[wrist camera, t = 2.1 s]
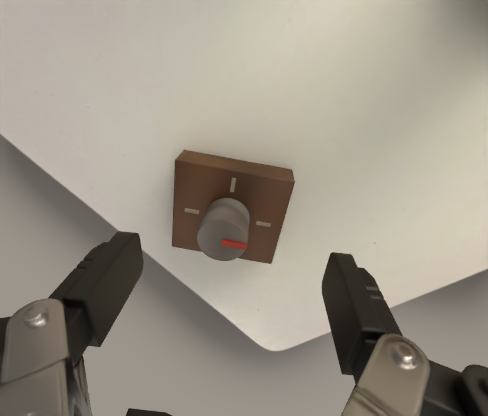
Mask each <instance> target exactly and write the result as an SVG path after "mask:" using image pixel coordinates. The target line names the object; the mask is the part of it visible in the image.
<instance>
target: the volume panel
mask: <svg viewBox="0 0 488 416" xmlns="http://www.w3.org/2000/svg"><path fill="white" fill-rule="evenodd" d="M294 183H295V181H294V177H293V172H292V170H290V169H285V168H279V167H274V166H268V165H263V164H257V163H252V162H247V161H241V160H236V159H230V158H225V157H219V156H214V155H209V154H203V153H198V152H192V151H187V150H184V151H183V152H182V153H181V154H180V155H179V156H178V157H177V159H176V160H175V179H174V206H173V232H172V246H173V247H179V248H184V249H190V250H195V251H201V252H203V251H202V250H201V249H200V247H199V245H198V242H197V234H198V231H199V229H200V226H201V223H202V221H203V218H204V216H205V213H206V211H207V208H208V207H209V205H210V204H211V203H212V202H214V201H216V200H218V199H221V198H231V199H235V200H237V201H239V202H241V203H242V204H243V205H244V206H245V207H246V208H247V210H248V212H249V215H250V222H249V232H248V242H247V247H246V250H245V251H244V253H243V254H242V255H241V256H239V257H238V258H241V259H246V260H252V261H258V262H263V263H269V264H271V263H272V259H273V256H274V253H275V249H276V246H277V242H278V239H279V235H280V232H281V228H282V225H283V221H284V218H285V214H286V211H287V207H288V204H289V200H290V197H291V193H292V190H293V186H294Z"/></svg>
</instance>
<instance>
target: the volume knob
mask: <svg viewBox="0 0 488 416" xmlns="http://www.w3.org/2000/svg"><path fill="white" fill-rule="evenodd" d="M249 222H250V215H249V212H248V210H247V208H246V207H245V206H244V205H243V204H242V203H241V202H239V201H237V200H235V199H231V198H221V199H218V200H216V201H214V202H212V203H211V204H210V205H209V207H208V208H207V211H206V213H205V216H204V218H203V221H202V223H201V226H200V229H199V231H198V234H197V242H198V245H199V247H200V249H201V250H202V251H203V253H205V254H206V255H207V256H209V257H210V258H213V259H216V260H220V261H229V260H233V259H236V258H238V257H239V256H241V255H242V254H243V253H244V251H245V250H246V247H247V242H248V232H249Z"/></svg>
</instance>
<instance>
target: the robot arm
mask: <svg viewBox="0 0 488 416" xmlns="http://www.w3.org/2000/svg"><path fill="white" fill-rule="evenodd" d="M142 270H143V256H142V249H141V243H140V237H139V234H138V233H132V232H121V231H119V232H117V233H116V234H115V235H114V237H113V238H112V239H111V240H110V241H109V242H104V243H102V244H100V245H98V246H97V247H95V248H93V249H92V250H91V251H90V252H89V253H88V254H87V255H86V256H85V258H84V260H83V261H81V262H80V263H79V264H78V265H77V268H76V269H74V270H73V271H72V272H71V273H70V274H69V275H68V276H67V278H66V279H65V280H64V281H63V282H62V283H61V284H60V285H59V286H58V288H57V289H56V290H55V291H54V292H53V293H52V294H51V295H50V296H49V298H47V299H41V300H37V301H34V302H31V303H29V304H27V305H26V306H24V307H22V308H21V309H19V310H18V311H17V312H16V313H14V315H13V316H11V317H5V318H0V416H92V412H91V407H90V400H89V393H88V386H87V380H86V373H85V366H84V359H83V356H82V354H83V353H84V351H85V349H86V348H87V346H95V347H100V346H101V345H102V343H103V341H104V339H105V338H106V336H107V334H108V332H109V331H110V329H111V327H112V325H113V323H114V322H115V320H116V318H117V316H118V315H119V313H120V311H121V309H122V308H123V306H124V304H125V302H126V301H127V299H128V297H129V295H130V294H131V292H132V290H133V288H134V287H135V285H136V283H137V281H138V279H139V278H140V276H141V274H142ZM322 295H323V299H324V303H325V307H326V311H327V315H328V320H329V324H330V328H331V332H332V336H333V340H334V344H335V347H336V352H337V356H338V360H339V364H340V368H341V372H342V374H346V375H353V376H354V380H355V384H356V385H355V387H354V389H353V391H352V393H351V395H350V397H349V399H348V402H347V403H346V406H345V408H344V410H343V412H342V414H341V416H488V368H487V367H484V366H480V365H469V366H467V367H466V368H465V369H464V370H463V371H462V372H458V371H456V370H453V369H450V368H448V367H445V366H443V365H440V364H438V363H435V362H433V361H431V360H429V359H427V357H426V355H425V354H424V353H423V351H422V350H421V349H420V348H419V347H418V346H417V345H416V344H415V343H413V342H412V341H410V340H409V339H407V338H405V337H403V335H402V333H401V331H400V329H399V327H398V325H397V324H396V322H395V319H394V318H393V315H392V313H391V312H390V309H389V307H388V305H387V303H386V301H385V300H384V297H383V295H382V293H381V291H379V287H378V285H377V283H376V281H375V279H374V278H373V277H372V276H371V275H370V274H369V273H368V272H367V271H366V270H365V269H364V268H358V267H357V265H356V263H355V260H354V258H353V256H352V255H351V254H344V253H333V252H332V253H331V254H330V257H329V260H328V263H327V267H326V270H325V273H324V277H323V281H322ZM126 416H172V415H170V414H168V413H165V412H157V411H148V410H139V409H130V408H129V409H128V412H127V414H126Z"/></svg>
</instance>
